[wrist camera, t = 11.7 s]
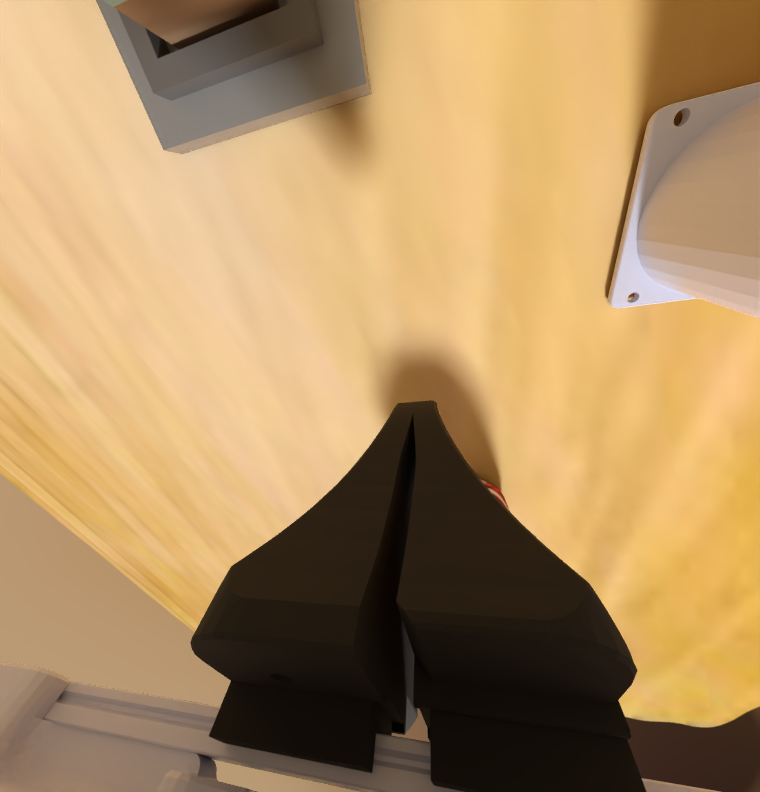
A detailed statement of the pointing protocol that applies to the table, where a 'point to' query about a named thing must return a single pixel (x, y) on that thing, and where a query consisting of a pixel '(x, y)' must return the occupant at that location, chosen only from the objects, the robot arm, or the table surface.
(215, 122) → the socket board
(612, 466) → the table surface
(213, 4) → the block stack
